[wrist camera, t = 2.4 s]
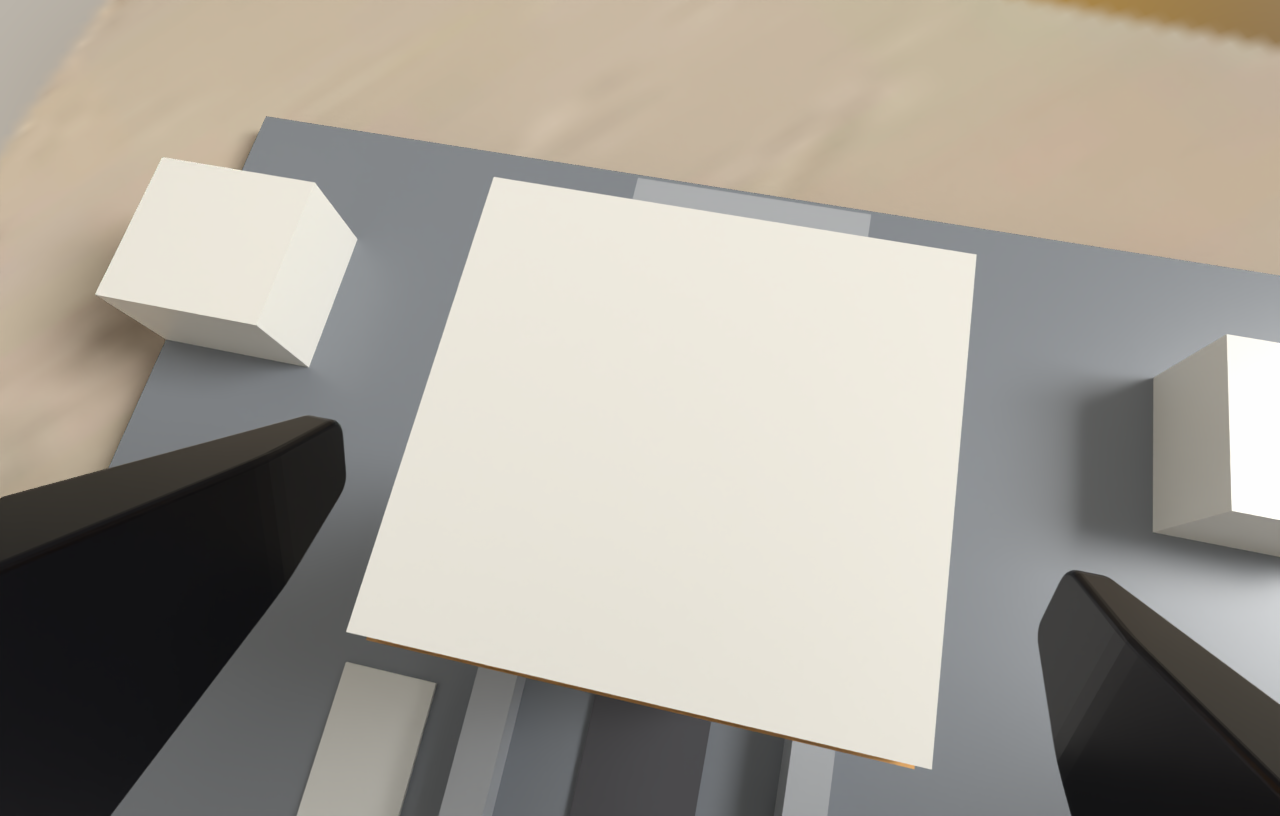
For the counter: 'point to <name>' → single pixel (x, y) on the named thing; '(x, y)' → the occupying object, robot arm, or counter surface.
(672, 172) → the counter surface
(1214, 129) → the counter surface
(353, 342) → the panel
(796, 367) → the handle
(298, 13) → the counter surface
